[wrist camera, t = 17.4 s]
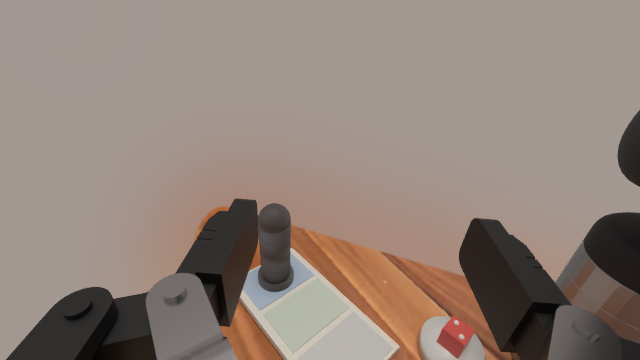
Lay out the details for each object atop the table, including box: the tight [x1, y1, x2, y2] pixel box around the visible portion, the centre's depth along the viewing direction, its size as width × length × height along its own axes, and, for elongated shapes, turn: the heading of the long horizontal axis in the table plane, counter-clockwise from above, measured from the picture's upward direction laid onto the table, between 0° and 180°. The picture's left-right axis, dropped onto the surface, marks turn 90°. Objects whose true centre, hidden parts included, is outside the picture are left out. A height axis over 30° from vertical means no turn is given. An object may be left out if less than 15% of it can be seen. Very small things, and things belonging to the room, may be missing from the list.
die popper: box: [418, 315, 485, 360], centre depth 35 cm, size 7×7×5 cm
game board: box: [239, 248, 400, 360], centre depth 38 cm, size 11×21×1 cm, turn 42°
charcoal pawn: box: [258, 203, 294, 292], centre depth 39 cm, size 5×5×12 cm
